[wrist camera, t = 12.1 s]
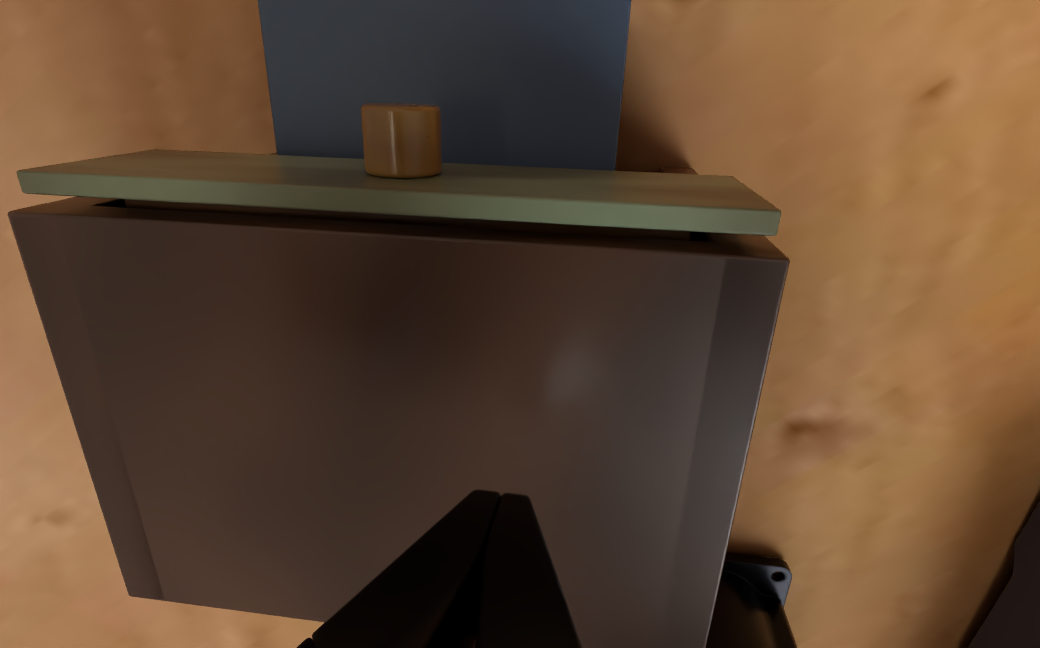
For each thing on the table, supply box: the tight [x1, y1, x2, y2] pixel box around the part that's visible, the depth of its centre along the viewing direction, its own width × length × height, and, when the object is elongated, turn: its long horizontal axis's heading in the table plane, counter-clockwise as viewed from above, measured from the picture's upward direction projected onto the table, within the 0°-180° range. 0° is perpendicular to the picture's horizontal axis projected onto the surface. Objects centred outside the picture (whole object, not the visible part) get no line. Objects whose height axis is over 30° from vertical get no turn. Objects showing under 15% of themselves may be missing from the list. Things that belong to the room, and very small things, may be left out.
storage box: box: [258, 0, 631, 171], centre depth 17 cm, size 8×12×5 cm
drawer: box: [17, 103, 781, 241], centre depth 12 cm, size 13×10×3 cm
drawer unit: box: [8, 153, 790, 648], centre depth 16 cm, size 13×9×10 cm
